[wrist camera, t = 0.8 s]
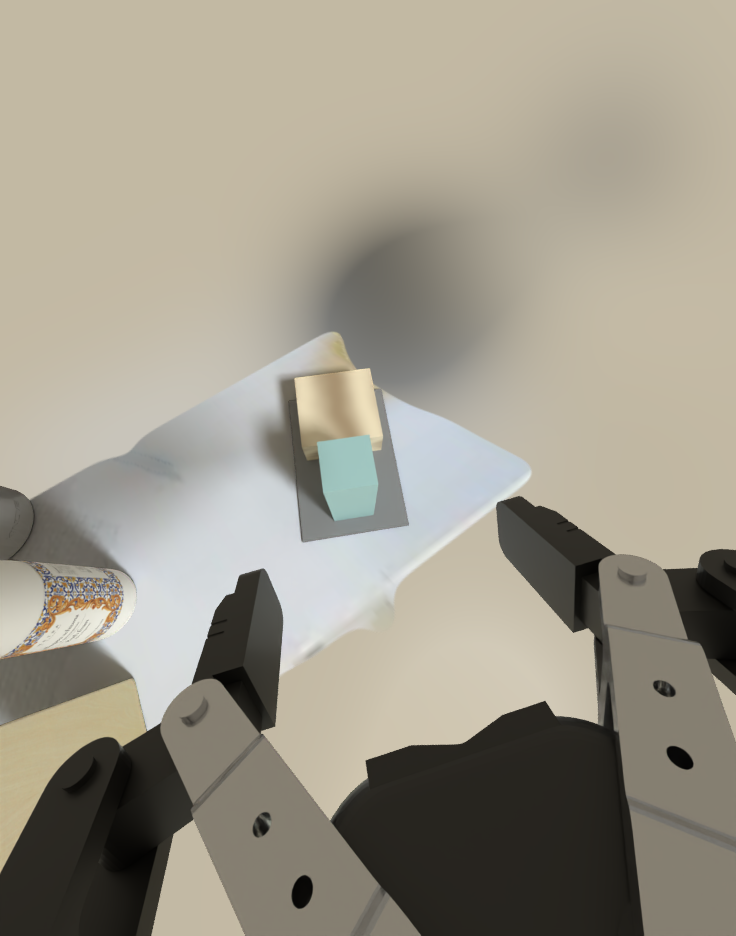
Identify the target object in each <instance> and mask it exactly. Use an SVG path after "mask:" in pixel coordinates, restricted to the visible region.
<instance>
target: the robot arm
mask: <svg viewBox="0 0 736 936" xmlns="http://www.w3.org/2000/svg"><path fill="white" fill-rule="evenodd" d="M496 510H497V522H498V535H499V543H500V546H501V549H502V551H503V553H504V554H505V556H506V557H507V559H508V560H509V561H510V562H511V563H512V564H513V565H514V567H515V568H516V569H517V570H518V571H519V572H520V573H521V574H522V576H523V577H524V578H525V579H526V580H527V581H528V582H529V583H530V585H531V586H532V587H533V588H534V589H535V590H536V591H537V592H538V593H539V595H540V596H541V597H542V598H543V599H544V600H545V601H546V603H547V604H548V605H549V606H550V607H551V608H552V609H553V610H554V612H555V613H556V614H557V615H558V616H559V617H560V618H561V619H562V621H563V622H564V623H565V624H566V625H567V626H568V627H569V629H570V630H571V631H572V632H573V633H574V632H577V631H581V630H584V629H586V628H589V629H590V630H591V632H592V633H594V653H595V668H596V683H597V700H598V724H595V723H592V722H589V721H586V720H582V719H577V718H571V717H562V716H555V715H554V714H553V712H552V711H551V709H550V708H549V706H548V704H547V703H546V701H544V702H540V703H538V704H534V705H532V706H529V707H526V708H523V709H519V710H516V711H513V712H510V713H507V714H505V715H502V716H501V717H499V718H498V719H497V720H495V721H494V722H492V723H491V724H490V725H488V726H487V727H486V728H484V729H483V730H482V731H480V732H479V733H477V734H476V735H475V736H473V737H472V738H471V739H469V740H468V741H466V742H465V743H463V744H456V745H411V746H408V747H405V748H402V749H399V750H396V751H393V752H390V753H387V754H384V755H381V756H378V757H375V758H372V759H369V760H366V767H367V773H368V779H366V780H365V781H363V782H362V783H361V784H360V785H358V786H357V787H356V788H355V789H354V790H353V791H352V792H351V793H350V794H349V795H348V797H347V798H346V799H345V800H344V801H343V803H342V804H341V805H340V806H339V808H338V810H337V811H336V813H335V814H334V815H333V817H332V819H331V820H329V819H328V818H327V816H326V815H325V814H324V812H323V811H322V810H321V809H320V807H319V806H318V805H317V803H316V802H315V801H314V799H313V798H312V797H311V796H310V794H309V793H308V792H307V790H306V789H305V788H304V786H303V785H302V784H301V783H300V781H299V780H298V779H297V777H296V776H295V775H294V773H293V772H292V771H291V769H290V768H289V767H288V766H287V764H286V763H285V762H284V761H283V759H282V758H281V756H280V755H279V754H278V753H277V751H276V750H275V749H274V747H273V746H272V745H271V743H270V742H269V741H268V740H267V738H266V737H265V736H264V735H263V734H261V731H262V730H266V729H269V728H272V727H275V722H276V709H277V696H278V682H279V670H280V657H281V644H282V631H283V614H282V609H281V605H280V602H279V600H278V598H277V595H276V593H275V591H274V588H273V586H272V583H271V581H270V579H269V576H268V574H267V572H266V570H265V569H259V570H256V571H252V572H249V573H245V574H242V575H240V576H239V578H238V582H237V585H236V589H235V593H233V594H230V595H226V596H225V598H224V599H223V600H222V602H221V603H220V604H219V606H218V607H217V609H216V610H215V613H214V616H213V620H212V623H211V627H210V629H209V632H208V635H207V637H208V639H206V641H205V644H204V647H203V651H202V654H201V657H200V660H199V663H198V666H197V669H196V672H195V675H194V678H193V682H192V685H190V686H189V687H187V688H186V689H185V690H183V691H182V692H181V693H180V694H179V695H178V696H177V697H176V698H175V699H174V700H173V701H172V703H171V704H170V705H169V707H168V708H167V710H166V712H165V714H164V716H163V718H162V721H161V723H160V724H158V725H157V726H155V727H154V728H152V729H151V730H149V731H147V732H146V733H144V734H142V735H141V736H139V737H137V738H136V739H134V740H132V741H131V742H129V743H127V744H126V745H124V746H121V745H120V744H119V742H118V741H117V740H116V739H114V738H112V737H103V738H99V739H96V740H94V741H92V742H90V743H88V744H87V745H85V746H83V747H82V748H80V749H79V750H78V751H77V752H75V753H74V754H73V755H72V756H71V757H69V758H68V759H67V760H66V761H65V762H64V763H63V764H62V765H61V766H60V768H59V769H58V770H57V771H56V772H55V774H54V775H53V776H52V778H51V779H50V781H49V782H48V784H47V786H46V787H45V789H44V791H43V793H42V795H41V797H40V798H39V800H38V802H37V804H36V806H35V808H34V810H33V812H32V814H31V816H30V817H29V819H28V821H27V823H26V825H25V827H24V829H23V831H22V833H21V835H20V836H19V838H18V840H17V842H16V844H15V846H14V848H13V850H12V852H11V854H10V855H9V857H8V859H7V861H6V863H5V865H4V867H3V869H2V871H1V873H0V936H151V934H152V929H153V925H154V920H155V915H156V911H157V907H158V902H159V897H160V893H161V888H162V884H163V879H164V875H165V870H166V866H167V861H168V856H169V852H170V847H171V843H172V838H173V834H174V833H175V832H177V831H178V830H180V829H181V828H182V827H184V826H185V825H186V824H188V823H189V822H191V821H192V820H193V819H194V821H195V823H196V826H197V828H198V830H199V833H200V835H201V837H202V839H203V841H204V844H205V846H206V848H207V850H208V853H209V855H210V857H211V860H212V862H213V864H214V866H215V868H216V871H217V873H218V875H219V878H220V880H221V882H222V884H223V886H224V888H225V891H226V893H227V895H228V898H229V900H230V902H231V905H232V907H233V909H234V911H235V914H236V916H237V918H238V920H239V922H240V925H241V927H242V929H243V932H244V934H245V936H736V742H735V738H734V736H733V733H732V730H731V727H730V724H729V721H728V719H727V716H726V713H725V710H724V707H723V704H722V702H721V699H720V696H719V693H718V690H717V687H716V684H715V682H714V679H713V676H712V674H713V675H714V676H715V677H716V678H718V679H719V680H720V681H721V682H722V683H723V684H724V685H725V686H727V687H728V688H729V689H730V690H731V691H732V692H733V693H734V694H735V695H736V550H728V549H718V550H711V551H708V552H705V553H704V554H702V555H701V557H700V560H699V565H698V568H687V569H662V568H661V567H659V566H658V565H657V564H655V563H653V562H651V561H649V560H647V559H644V558H641V557H637V556H633V555H624V554H623V555H622V554H620V555H616V554H614V553H613V552H612V551H610V550H609V549H607V548H606V547H605V546H603V545H602V544H600V543H599V542H598V541H596V540H595V539H593V538H592V537H591V536H589V535H588V534H586V533H585V532H584V531H582V530H581V529H578V527H577V526H575V525H574V524H573V523H571V522H568V520H567V519H565V518H564V517H563V516H562V515H560V514H559V513H557V512H556V511H553V510H550V509H548V508H545V507H542V506H538V507H534V506H533V505H532V504H531V503H529V502H528V501H527V500H525V499H524V498H523V497H520V496H518V497H514V498H511V499H507V500H504V501H500V502H498V503H497V506H496ZM33 517H34V513H33V508H32V505H31V503H30V501H29V499H27V497H26V496H25V495H23V494H22V493H20V492H18V491H16V490H12V489H9V488H6V487H2V486H0V560H8V559H9V558H11V557H12V556H13V555H14V554H15V553H16V552H17V551H18V550H19V549H20V548H21V547H22V545H23V544H24V543H25V541H26V540H27V538H28V536H29V534H30V532H31V529H32V525H33Z"/></svg>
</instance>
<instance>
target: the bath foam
mask: <svg viewBox="0 0 736 936" xmlns="http://www.w3.org/2000/svg"><path fill="white" fill-rule="evenodd" d="M136 599H137V594H136V588H135V585H134V583H133V581H132V580H131V579H130V578H129V577H128V576H127V575H126V574H125V573H123V572H121V571H119V570H115V569H106V568H97V567H86V566H75V565H64V564H52V563H41V562H30V561H19V560H0V659H5V658H10V657H15V656H21V655H26V654H31V653H36V652H42V651H47V650H52V649H58V648H63V647H68V646H73V645H79V644H84V643H88V642H94V641H98V640H102V639H105V638H108V637H110V636H112V635H113V634H115V633H116V632H118V631H119V630H120V629H121V628H122V627H123V626H124V625H125V624H126V623H127V622H128V620H129V619H130V617H131V615H132V613H133V611H134V608H135V605H136Z"/></svg>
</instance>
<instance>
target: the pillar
mask: <svg viewBox="0 0 736 936" xmlns="http://www.w3.org/2000/svg"><path fill="white" fill-rule="evenodd" d="M317 446H318V454H319V462H320V470H321V478H322V486H323V493H324V496H325V498H326V501H327V503H328V506H329V509H330V511H331V514H332V516H333V519H334V521H338V520H345V519H351V518H357V517H364V516H370V515H374V509H375V503H376V497H377V490H378V479H377V474H376V468H375V463H374V457H373V452H372V446H371V441H370V435H363V436H356V437H349V438H342V439H335V440H328V441H321V442H317Z"/></svg>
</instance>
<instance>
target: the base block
mask: <svg viewBox="0 0 736 936" xmlns="http://www.w3.org/2000/svg"><path fill="white" fill-rule="evenodd" d="M294 379H295V388H296V398H297V407H298V416H299V425H300V434H301V444H302V449H303V451H304V454H305V456H306V459H307V461H309V460H316V459H319V454H318V446H317V442H321V441H328V440H335V439H342V438H349V437H356V436H363V435H370V441H371V446H372V451H377V450H381V448H382V441H383V433H382V428H381V423H380V418H379V413H378V407H377V402H376V397H375V392H374V387H373V382H372V377H371V372H370V368H368V369H361V370H352V371H344V372H337V373H329V374H321V375H313V376H306V377H298V378H294Z"/></svg>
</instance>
